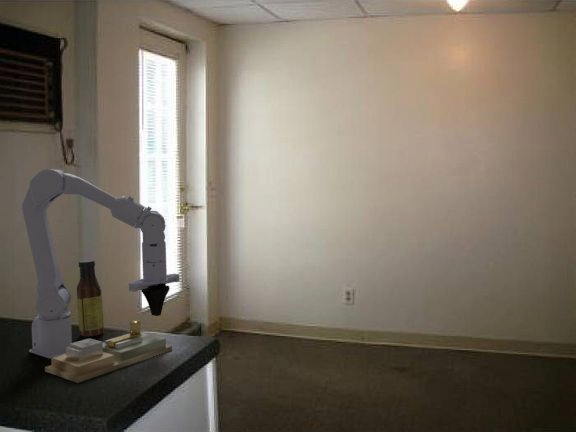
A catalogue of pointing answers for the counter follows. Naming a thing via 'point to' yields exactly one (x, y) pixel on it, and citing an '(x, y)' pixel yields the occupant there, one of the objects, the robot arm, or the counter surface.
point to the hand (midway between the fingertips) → (156, 315)
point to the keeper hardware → (95, 347)
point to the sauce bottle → (89, 301)
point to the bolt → (134, 333)
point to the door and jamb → (107, 359)
